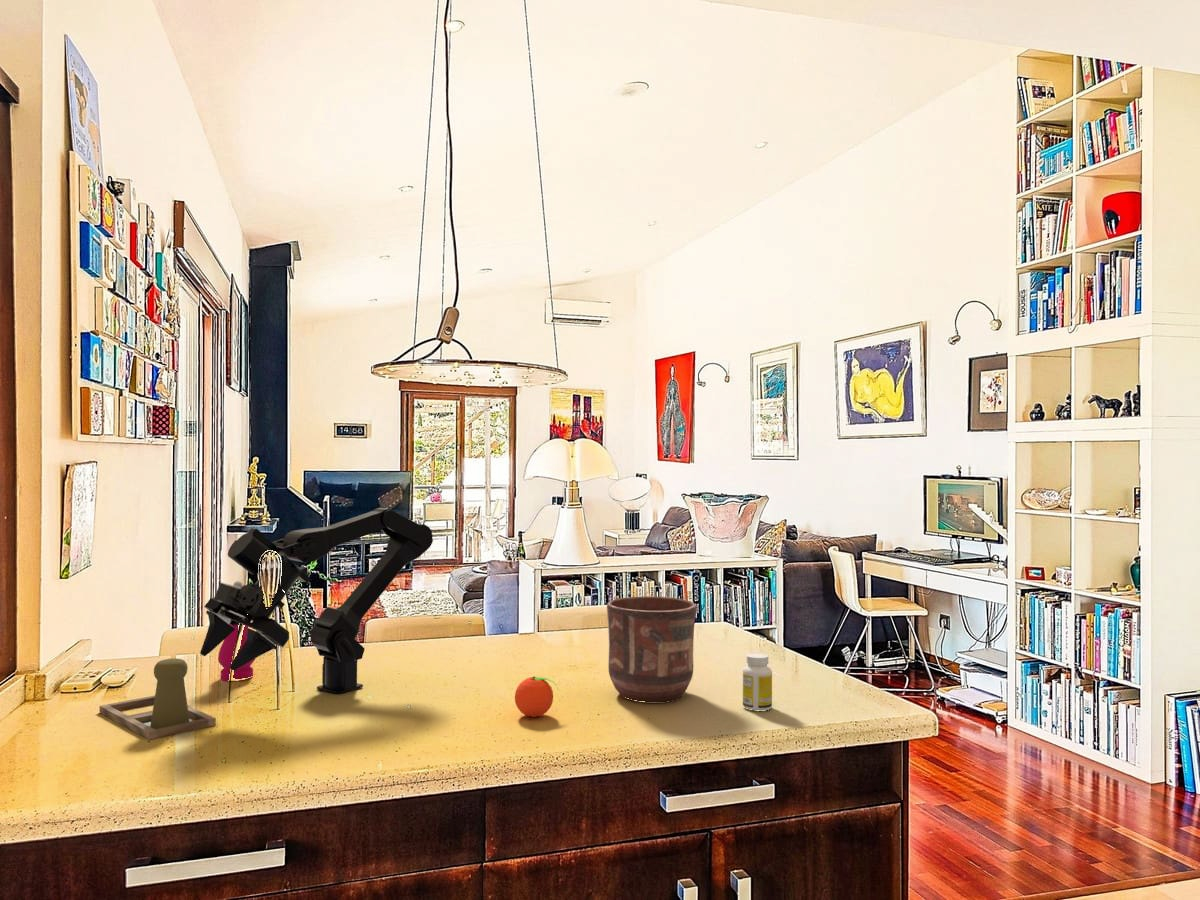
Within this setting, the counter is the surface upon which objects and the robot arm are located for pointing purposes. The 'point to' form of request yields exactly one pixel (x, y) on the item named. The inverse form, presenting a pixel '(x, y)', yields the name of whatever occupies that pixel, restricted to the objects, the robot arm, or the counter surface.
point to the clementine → (534, 696)
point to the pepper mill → (227, 653)
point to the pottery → (651, 647)
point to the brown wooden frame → (143, 720)
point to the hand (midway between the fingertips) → (216, 662)
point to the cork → (170, 694)
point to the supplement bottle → (757, 683)
